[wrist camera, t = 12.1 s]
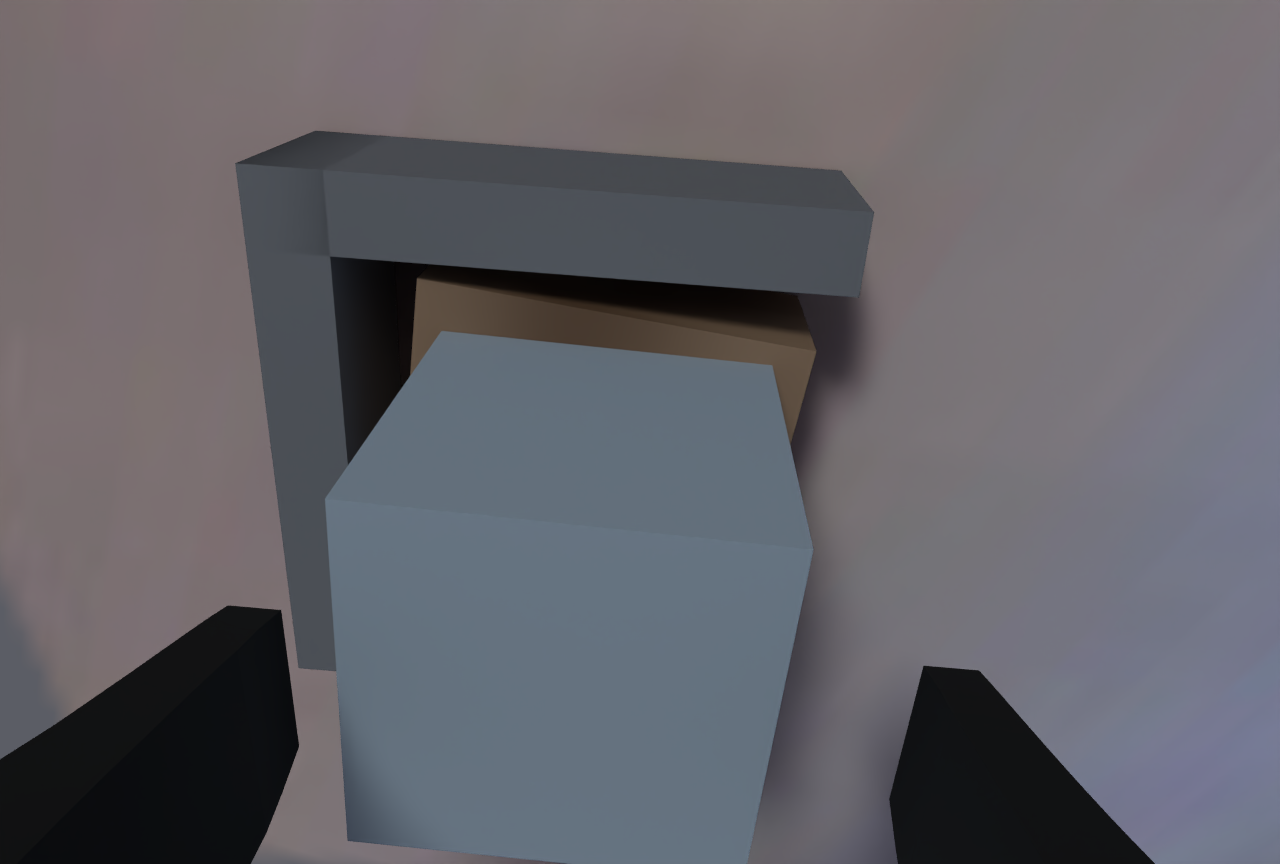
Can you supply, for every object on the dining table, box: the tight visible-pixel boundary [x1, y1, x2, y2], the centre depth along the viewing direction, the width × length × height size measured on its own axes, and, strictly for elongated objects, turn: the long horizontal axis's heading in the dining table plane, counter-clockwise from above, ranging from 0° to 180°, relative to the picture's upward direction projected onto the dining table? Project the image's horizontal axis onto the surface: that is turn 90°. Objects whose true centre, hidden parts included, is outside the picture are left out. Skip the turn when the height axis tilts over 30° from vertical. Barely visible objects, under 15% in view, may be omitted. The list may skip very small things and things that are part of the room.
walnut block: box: [410, 264, 817, 445], centre depth 16 cm, size 6×6×3 cm
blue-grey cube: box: [325, 331, 813, 864], centre depth 13 cm, size 5×5×5 cm
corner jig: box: [235, 131, 874, 671], centre depth 16 cm, size 9×9×3 cm
